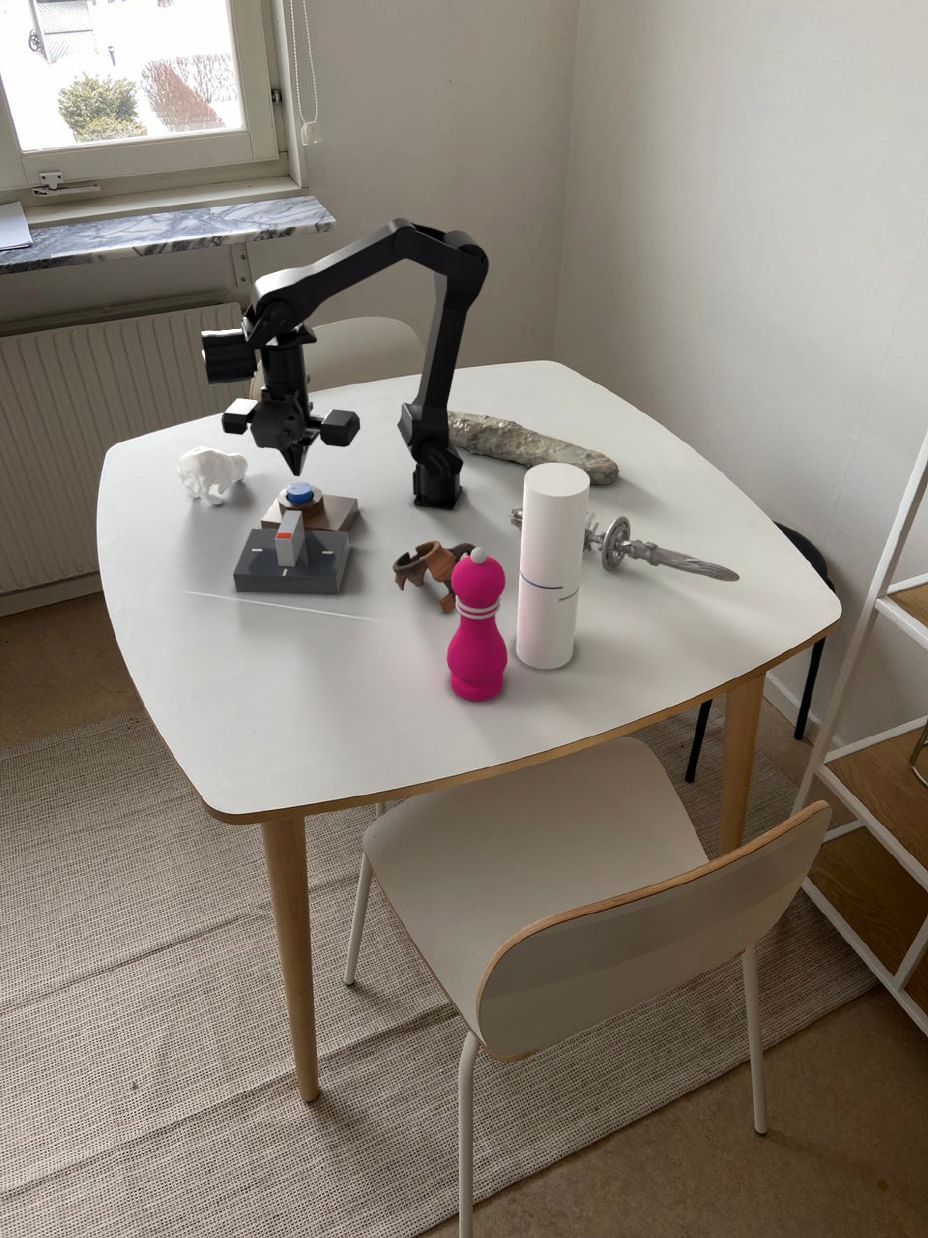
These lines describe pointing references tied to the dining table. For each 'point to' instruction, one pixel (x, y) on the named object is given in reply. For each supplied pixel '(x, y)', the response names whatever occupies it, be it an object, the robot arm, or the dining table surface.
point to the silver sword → (639, 550)
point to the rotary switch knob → (290, 538)
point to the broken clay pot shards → (432, 567)
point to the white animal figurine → (210, 472)
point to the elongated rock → (525, 445)
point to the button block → (314, 512)
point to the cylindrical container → (550, 563)
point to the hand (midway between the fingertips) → (297, 474)
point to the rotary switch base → (311, 573)
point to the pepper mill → (477, 628)
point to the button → (299, 492)
